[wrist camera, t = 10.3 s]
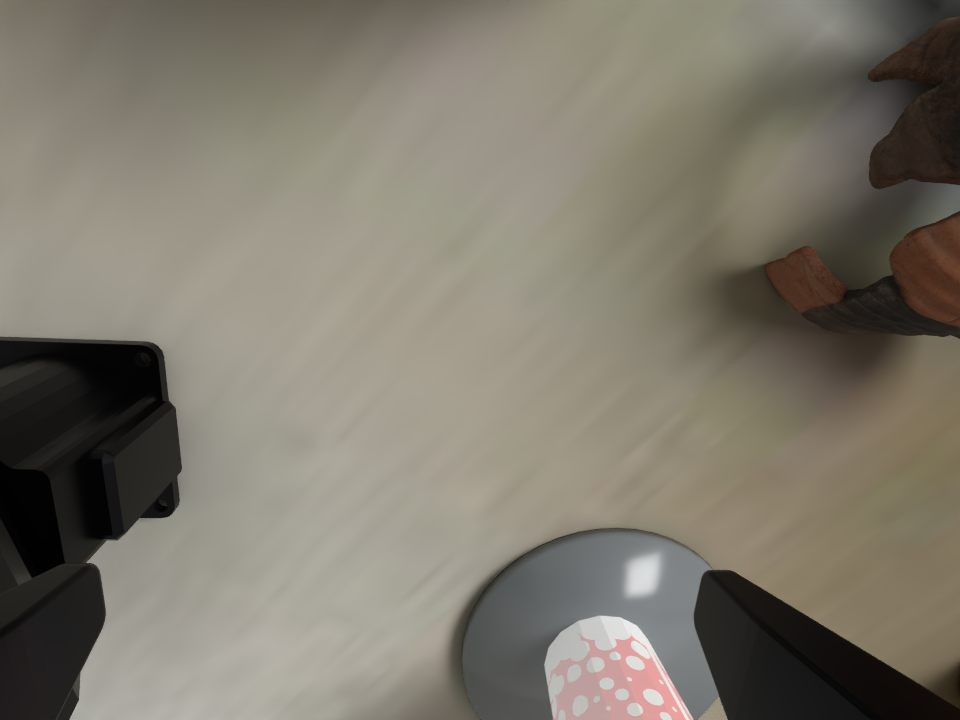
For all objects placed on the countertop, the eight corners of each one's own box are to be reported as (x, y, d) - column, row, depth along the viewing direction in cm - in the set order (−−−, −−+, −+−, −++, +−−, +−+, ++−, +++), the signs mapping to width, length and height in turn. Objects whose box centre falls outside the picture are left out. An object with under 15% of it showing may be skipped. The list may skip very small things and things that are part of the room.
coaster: (455, 755, 25) (456, 768, 25) (469, 527, 22) (470, 536, 21) (706, 746, 27) (712, 759, 26) (757, 528, 23) (765, 537, 23)
